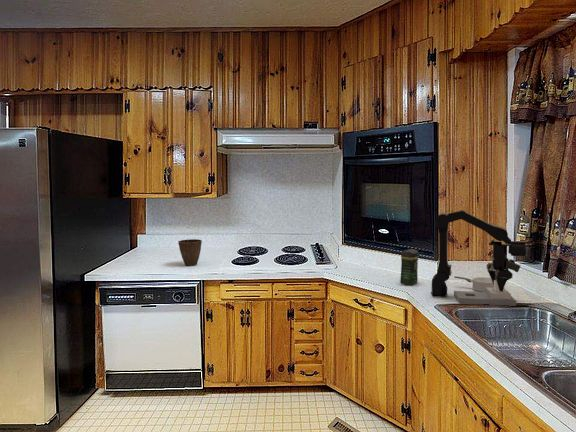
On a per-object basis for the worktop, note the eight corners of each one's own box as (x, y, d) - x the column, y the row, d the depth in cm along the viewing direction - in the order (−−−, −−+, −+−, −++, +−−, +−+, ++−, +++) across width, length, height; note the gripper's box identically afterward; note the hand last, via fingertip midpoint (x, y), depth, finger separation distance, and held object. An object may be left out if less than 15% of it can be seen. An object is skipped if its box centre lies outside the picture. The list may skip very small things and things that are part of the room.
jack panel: (458, 303, 192) (459, 292, 191) (453, 295, 204) (454, 285, 203) (516, 306, 187) (516, 295, 187) (507, 298, 199) (507, 287, 198)
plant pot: (175, 267, 270) (174, 242, 269) (184, 262, 285) (183, 239, 284) (197, 267, 269) (197, 242, 267) (205, 262, 283) (204, 239, 282)
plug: (495, 296, 193) (495, 280, 192) (493, 295, 196) (494, 278, 195) (502, 297, 192) (503, 280, 192) (500, 295, 195) (501, 279, 194)
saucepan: (456, 284, 225) (456, 274, 224) (498, 289, 214) (498, 278, 214) (451, 289, 215) (452, 278, 215) (495, 295, 205) (495, 283, 204)
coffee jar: (412, 286, 220) (413, 251, 219) (398, 284, 225) (398, 249, 224) (419, 282, 228) (420, 248, 226) (405, 280, 233) (406, 247, 231)
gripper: (526, 259, 181) (524, 295, 183) (512, 251, 200) (510, 284, 201) (498, 258, 184) (496, 294, 185) (486, 251, 202) (485, 283, 203)
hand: (498, 288), depth 194 cm, fingers open, 9 cm apart
